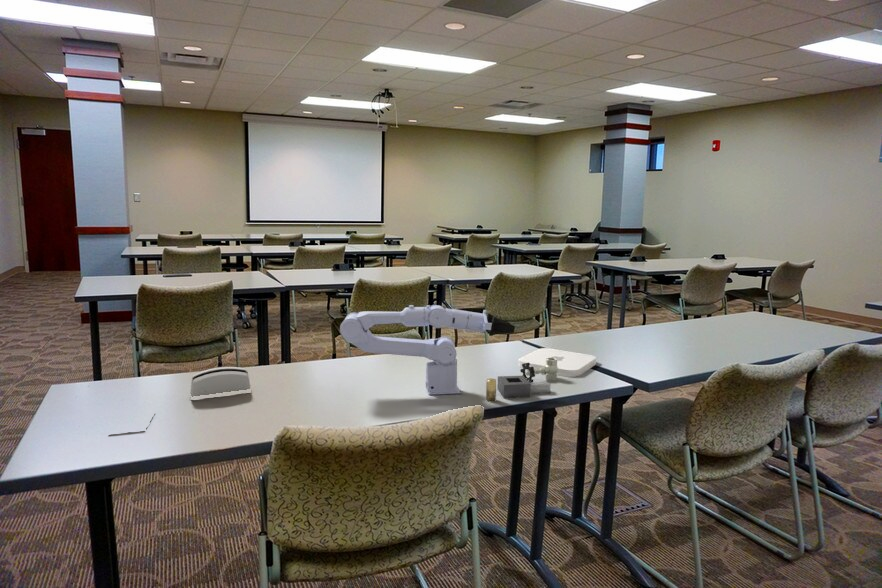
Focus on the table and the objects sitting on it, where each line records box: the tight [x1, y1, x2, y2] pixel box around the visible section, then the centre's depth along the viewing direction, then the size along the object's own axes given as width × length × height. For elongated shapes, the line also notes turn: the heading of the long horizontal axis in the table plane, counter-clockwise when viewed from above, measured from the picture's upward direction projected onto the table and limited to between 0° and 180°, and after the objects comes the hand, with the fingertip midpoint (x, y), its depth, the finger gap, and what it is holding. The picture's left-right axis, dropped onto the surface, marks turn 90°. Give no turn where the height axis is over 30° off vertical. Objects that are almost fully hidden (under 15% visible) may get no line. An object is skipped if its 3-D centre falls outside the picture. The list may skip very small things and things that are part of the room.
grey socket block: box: [496, 375, 552, 399], centre depth 166 cm, size 15×8×4 cm, turn 97°
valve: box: [519, 358, 558, 383], centre depth 177 cm, size 7×7×12 cm
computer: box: [518, 347, 597, 378], centre depth 195 cm, size 22×22×3 cm
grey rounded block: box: [190, 366, 252, 397], centre depth 162 cm, size 17×5×10 cm, turn 115°
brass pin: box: [485, 378, 497, 402], centre depth 159 cm, size 3×3×6 cm
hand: (512, 327), depth 165 cm, fingers open, 7 cm apart
